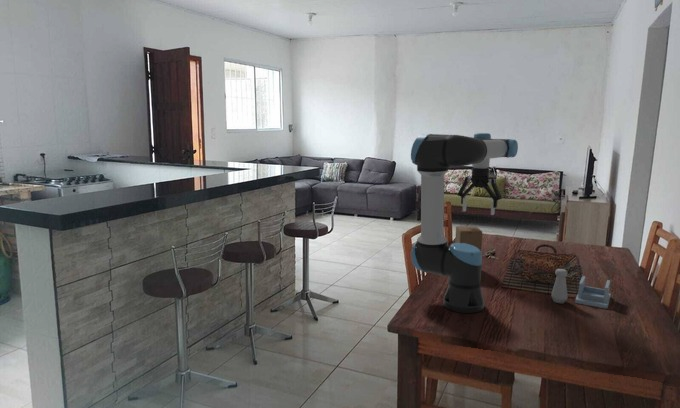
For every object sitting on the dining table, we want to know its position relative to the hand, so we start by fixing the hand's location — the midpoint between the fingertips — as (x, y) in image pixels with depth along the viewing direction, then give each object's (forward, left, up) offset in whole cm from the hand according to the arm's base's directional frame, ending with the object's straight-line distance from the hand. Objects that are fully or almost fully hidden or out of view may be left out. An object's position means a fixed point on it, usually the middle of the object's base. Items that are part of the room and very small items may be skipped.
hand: (478, 212), depth 225 cm
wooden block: (-4, +3, -27) cm, 28 cm away
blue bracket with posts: (-14, -51, -27) cm, 60 cm away
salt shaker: (-23, -40, -27) cm, 54 cm away
